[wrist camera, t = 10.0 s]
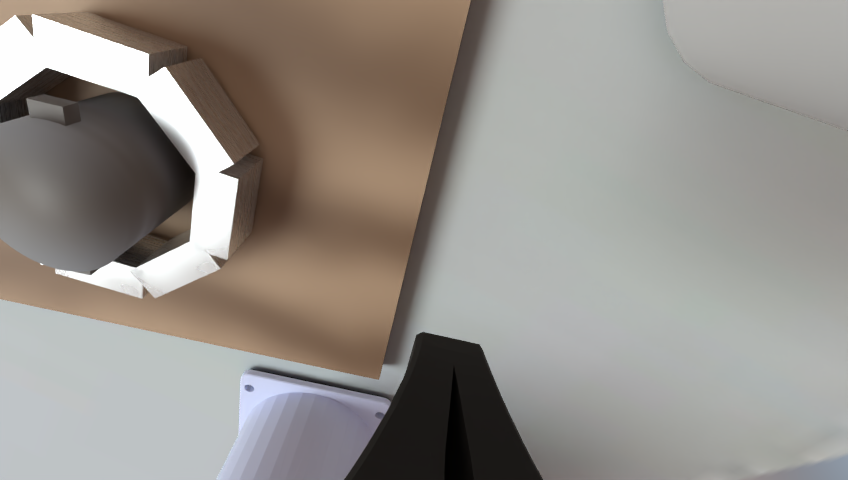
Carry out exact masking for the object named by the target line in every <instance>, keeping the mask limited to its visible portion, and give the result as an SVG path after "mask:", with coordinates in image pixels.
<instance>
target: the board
mask: <svg viewBox="0 0 848 480" xmlns="http://www.w3.org/2000/svg"><path fill="white" fill-rule="evenodd" d="M470 2H471V0H0V27H1V26H2V25H4V24H5V23H6V22H8V21H9V20H10V19H11V18H13V17H14V16H19V15H32V14H49V13H71V12H90V13H92V14H95V15H98V16H101V17H104V18H107V19H110V20H113V21H115V22H118V23H121V24H124V25H127V26H130V27H133V28H136V29H138V30H141V31H144V32H147V33H150V34H153V35H156V36H159V37H161V38H164V39H167V40H170V41H173V42H176V43H179V44H182V45H184V46H187V47H188V52H187V61H191V60H195V59H199V58H202V59H203V60H204V62H205V63H206V65H207V66H208V68H209V69H210V71H211V72H212V74H213V75H214V77H215V78H216V80H217V81H218V83H219V84H220V86H221V87H222V89H223V90H224V92H225V93H226V94H227V96H228V97H229V99H230V100H231V102H232V103H233V105H234V106H235V108H236V109H237V111H238V112H239V114H240V115H241V117H242V118H243V120H244V121H245V123H246V124H247V126H248V127H249V129H250V130H251V132H252V133H253V135H254V136H255V138H256V139H257V141H258V142H259V144H260V145H258V146H257V147H256V148H254V149H253V150H252V151H251V152H249V154H252V155H255V156H258V157H261V158H263V164H262V170H261V176H260V182H259V189H258V195H257V201H256V207H255V214H254V220H253V226H252V232H251V233H250V234H249V236H248V237H247V238H246V239H245V241H244V242H243V244H242V245H241V246H240V247H239V248H238V249H237V250H236V252H235V253H234V254H233V255H232V256H231V257H230V259H229V260H228V261H227V262H226V263H225V264H224V265H223V267H222V268H221V269H219V270H217V271H215V272H212V273H210V274H208V275H206V276H204V277H201V278H199V279H197V280H195V281H193V282H190V283H188V284H186V285H184V286H182V287H179V288H177V289H175V290H173V291H170V292H168V293H166V294H164V295H162V296H159V297H157V298H154V297H153V296H152V295H151V294H150V292H149V293H148V294H147V295H146V296H145V297H144V298H138V297H135V296H131V295H128V294H125V293H121V292H118V291H114V290H111V289H107V288H104V287H101V286H97V285H94V284H90V283H87V282H84V281H80V280H77V279H73V278H70V277H66V276H63V275H60V274H56V273H55V268H56V269H59V270H65V271H72V272H77V273H82V274H86V275H92V274H93V273H94V272H96V271H97V270H98V269H100V268H102V267H104V266H106V265H108V264H109V263H111V262H112V261H113V260H115V259H116V258H117V257H119V256H120V255H121V254H123V253H124V252H125V251H126V250H128V249H129V248H130V247H132V246H133V245H134V244H136V243H137V242H138V241H139V240H141V239H142V238H143V237H145V236H146V235H147V234H150V235H153V236H156V237H159V238H163V239H166V240H170V239H172V238H174V237H176V236H178V235H180V234H182V233H184V232H186V231H188V230H190V229H191V222H192V210H193V198H194V186H195V172H194V171H193V170H192V168H191V167H190V166H189V164H188V163H187V162H186V160H185V159H184V158H183V156H182V155H181V154H180V152H179V151H178V150H177V148H176V147H175V146H174V145H173V143H172V142H171V141H170V139H169V138H168V137H167V135H166V134H165V133H164V131H163V130H162V129H161V127H160V126H159V125H158V123H157V122H156V121H155V119H154V118H153V117H152V116H151V114H150V113H149V112H148V110H147V109H146V108H145V106H144V105H143V104H142V102H141V101H140V100H139V98H138V97H135V96H132V95H129V94H126V93H123V92H120V91H117V90H114V89H111V88H108V87H105V86H102V85H99V84H96V83H93V82H90V81H87V80H84V79H81V78H78V77H75V76H70V77H69V78H67V79H66V80H64V81H63V82H61V83H60V84H58V85H57V86H55V87H54V88H52V89H51V90H49V91H48V92H46V93H45V94H42V95H38V96H34V97H30V98H26V100H27V105H28V110H29V115H28V116H24V117H21V118H17V119H13V120H10V121H6V122H3V123H0V299H3V300H7V301H12V302H17V303H22V304H26V305H31V306H36V307H40V308H45V309H50V310H54V311H59V312H64V313H68V314H73V315H78V316H82V317H87V318H92V319H97V320H101V321H106V322H111V323H115V324H120V325H125V326H129V327H134V328H139V329H143V330H148V331H153V332H157V333H162V334H167V335H172V336H176V337H181V338H186V339H190V340H195V341H200V342H204V343H209V344H214V345H218V346H223V347H228V348H232V349H237V350H242V351H246V352H251V353H256V354H261V355H265V356H270V357H275V358H279V359H284V360H289V361H293V362H298V363H303V364H307V365H312V366H317V367H321V368H326V369H331V370H336V371H340V372H345V373H350V374H354V375H359V376H364V377H368V378H373V379H378V380H379V377H380V373H381V369H382V365H383V361H384V357H385V353H386V349H387V344H388V340H389V336H390V332H391V328H392V324H393V320H394V316H395V311H396V307H397V303H398V299H399V295H400V291H401V287H402V283H403V278H404V274H405V270H406V266H407V262H408V258H409V254H410V250H411V245H412V241H413V237H414V233H415V229H416V225H417V221H418V216H419V212H420V208H421V204H422V200H423V196H424V192H425V188H426V183H427V179H428V175H429V171H430V167H431V163H432V159H433V155H434V150H435V146H436V142H437V138H438V134H439V130H440V126H441V122H442V117H443V113H444V109H445V105H446V101H447V97H448V93H449V89H450V84H451V80H452V76H453V72H454V68H455V64H456V60H457V56H458V51H459V47H460V43H461V39H462V35H463V31H464V27H465V22H466V18H467V14H468V10H469V6H470ZM41 264H43V265H41Z"/></svg>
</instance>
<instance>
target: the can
mask: <svg viewBox="0 0 848 480" xmlns="http://www.w3.org/2000/svg"><path fill="white" fill-rule="evenodd" d="M663 6H664V13H665V20H666V27H667V32H668V34H669V36H670V38H671V40H672V41H673V43H674V45H675V47H676V49H677V51H678V53H679V54H680V56H681V58H682V60H683V62H684V63H686V64H687V65H688V66H689V67H691V68H692V69H693V70H694V71H696V72H697V73H698V74H699V75H701V76H702V77H703V78H704V79H706V80H707V81H708V82H709V83H712V84H715V85H718V86H721V87H724V88H727V89H729V90H732V91H735V92H738V93H741V94H744V95H747V96H749V97H752V98H755V99H758V100H761V101H764V102H767V103H769V104H772V105H775V106H778V107H781V108H784V109H787V110H789V111H792V112H795V113H798V114H801V115H804V116H807V117H809V118H812V119H815V120H818V121H821V122H824V123H827V124H829V125H832V126H835V127H838V128H841V129H844V130H847V131H848V0H663Z"/></svg>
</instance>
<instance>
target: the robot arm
mask: <svg viewBox="0 0 848 480" xmlns="http://www.w3.org/2000/svg"><path fill="white" fill-rule="evenodd" d="M379 412H381V413H379ZM216 480H543V479H542V477H541V475H540V473H539V471H538V470H537V468H536V466H535V464H534V462H533V461H532V459H531V457H530V455H529V453H528V451H527V449H526V447H525V445H524V443H523V441H522V439H521V437H520V435H519V433H518V431H517V429H516V427H515V425H514V422H513V420H512V418H511V416H510V414H509V412H508V410H507V408H506V405H505V403H504V401H503V399H502V396H501V394H500V392H499V389H498V387H497V385H496V383H495V380H494V378H493V375H492V373H491V370H490V368H489V365H488V363H487V360H486V358H485V355H484V352H483V350H482V348H481V346H480V345H479V344H475V343H470V342H466V341H461V340H457V339H452V338H448V337H443V336H439V335H434V334H429V333H425V332H422V333H420V334H417V335H416V338H415V341H414V345H413V349H412V352H411V356H410V359H409V363H408V367H407V370H406V373H405V376H404V378H403V380H402V382H401V384H400V386H399V388H398V390H397V392H396V394H395V396H394V398H393V400H392V402H390V401H389V400H388V399H386V398H383V397H379V396H374V395H369V394H365V393H360V392H355V391H350V390H346V389H341V388H336V387H331V386H327V385H322V384H317V383H313V382H308V381H303V380H298V379H294V378H289V377H284V376H279V375H275V374H270V373H265V372H261V371H256V370H246V371H245V372H244V373H243V374H242V376H241V379H240V409H239V435H238V437H237V439H236V441H235V443H234V445H233V447H232V449H231V451H230V453H229V455H228V457H227V459H226V461H225V463H224V465H223V467H222V469H221V471H220V473H219V475H218V477H217V479H216Z"/></svg>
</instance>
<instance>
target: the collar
mask: <svg viewBox="0 0 848 480" xmlns="http://www.w3.org/2000/svg"><path fill="white" fill-rule="evenodd" d="M187 52H188V47H187V46H184V45H182V44H179V43H176V42H173V41H170V40H167V39H164V38H161V37H159V36H156V35H153V34H150V33H147V32H144V31H141V30H138V29H136V28H133V27H130V26H127V25H124V24H121V23H118V22H115V21H113V20H110V19H107V18H104V17H101V16H98V15H95V14H92V13H90V12H71V13H49V14H32V15H19V16H14V17H13V18H11V19H10V20H9V21H8V22H6V23H5V24H4V25H2V26H1V27H0V123H3V122H6V121H10V120H13V119H17V118H21V117H24V116H28V115H29V110H28V105H27V100H26V98H30V97H34V96H38V95H42V94H45V93H46V92H48V91H49V90H51V89H52V88H54V87H55V86H57V85H58V84H60V83H61V82H63V81H64V80H66V79H67V78H69V77H70V76H75V77H78V78H81V79H84V80H87V81H90V82H93V83H96V84H99V85H102V86H105V87H108V88H111V89H114V90H117V91H120V92H123V93H126V94H129V95H132V96H135V97H138V98H139V100H140V101H141V102H142V104H143V105H144V106H145V108H146V109H147V110H148V112H149V113H150V114H151V116H152V117H153V118H154V119H155V121H156V122H157V123H158V125H159V126H160V127H161V129H162V130H163V131H164V133H165V134H166V135H167V137H168V138H169V139H170V141H171V142H172V143H173V145H174V146H175V147H176V148H177V150H178V151H179V152H180V154H181V155H182V156H183V158H184V159H185V160H186V162H187V163H188V164H189V166H190V167H191V168H192V170H193V171H194V172H195V186H194V198H193V210H192V222H191V229H190V230H188V231H186V232H184V233H182V234H180V235H178V236H176V237H174V238H172V239H170V240H166V239H163V238H159V237H156V236H153V235H150V234H147V235H146V236H145V237H143V238H142V239H141V240H139V241H138V242H137V243H136V244H134V245H133V246H132V247H130V248H129V249H128V250H126V251H125V252H124V253H123V254H121V255H120V256H119V257H117V258H116V259H115V260H113V261H112V262H111V263H109V264H108V265H106V266H104V267H102V268H100V269H98V270H97V271H96V272H94V273H93V274H92V275H86V274H82V273H77V272H72V271H65V270H59V269H56V268H55V273H56V274H60V275H63V276H66V277H70V278H73V279H77V280H80V281H84V282H87V283H90V284H94V285H97V286H101V287H104V288H107V289H111V290H114V291H118V292H121V293H125V294H128V295H131V296H135V297H138V298H144V297H145V296H146V295H147V294H148V293H149V292H150V294H151V295H152V296H153V297H154V298H157V297H159V296H162V295H164V294H166V293H168V292H170V291H173V290H175V289H177V288H179V287H182V286H184V285H186V284H188V283H190V282H193V281H195V280H197V279H199V278H201V277H204V276H206V275H208V274H210V273H212V272H215V271H217V270H219V269H221V268H222V267H223V265H224V264H225V263H226V262H227V261H228V260H229V259H230V257H231V256H232V255H233V254H234V253H235V252H236V250H237V249H238V248H239V247H240V246H241V245H242V244H243V242H244V241H245V239H246V238H247V237H248V236H249V234H250V233H251V232H252V226H253V220H254V214H255V207H256V201H257V195H258V189H259V182H260V176H261V170H262V164H263V158H261V157H258V156H255V155H252V154H249V152H251V151H252V150H253V149H254V148H256V147H257V146H258V145H260V144H259V142H258V141H257V139H256V138H255V136H254V135H253V133H252V132H251V130H250V129H249V127H248V126H247V124H246V123H245V121H244V120H243V118H242V117H241V115H240V114H239V112H238V111H237V109H236V108H235V106H234V105H233V103H232V102H231V100H230V99H229V97H228V96H227V94H226V93H225V92H224V90H223V89H222V87H221V86H220V84H219V83H218V81H217V80H216V78H215V77H214V75H213V74H212V72H211V71H210V69H209V68H208V66H207V65H206V63H205V62H204V60H203V59H202V58H199V59H195V60H191V61H187ZM41 265H43V264H41Z"/></svg>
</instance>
